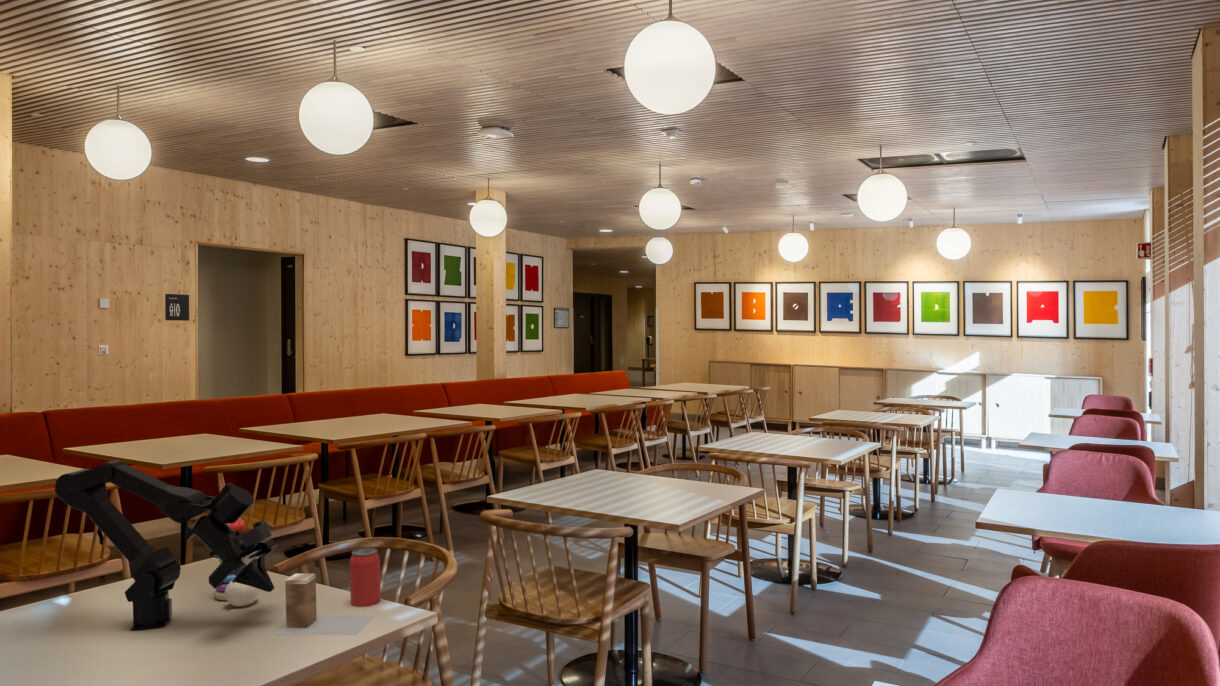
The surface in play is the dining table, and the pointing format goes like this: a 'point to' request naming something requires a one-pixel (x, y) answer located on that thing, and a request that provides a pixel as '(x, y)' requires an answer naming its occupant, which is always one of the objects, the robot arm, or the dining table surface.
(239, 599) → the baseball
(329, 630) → the rubber mat
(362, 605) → the beer can
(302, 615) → the walnut block
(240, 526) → the stacking toy
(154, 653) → the dining table surface
